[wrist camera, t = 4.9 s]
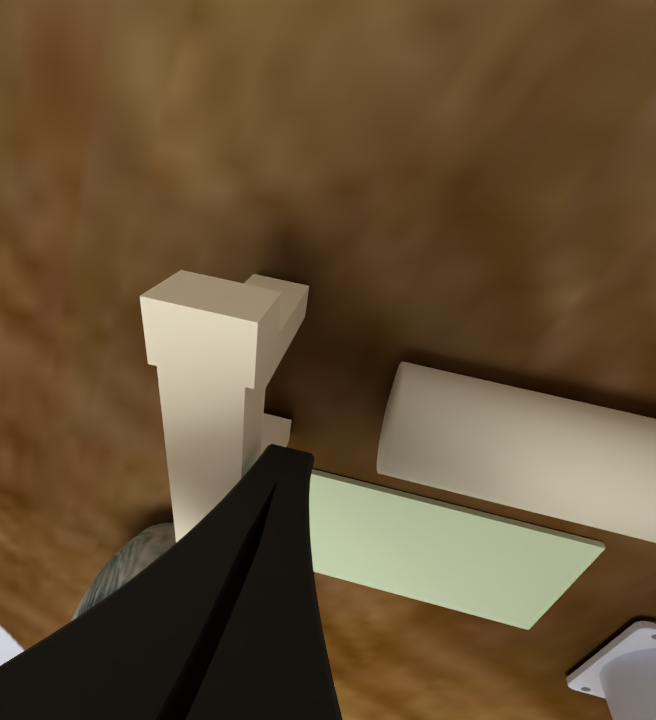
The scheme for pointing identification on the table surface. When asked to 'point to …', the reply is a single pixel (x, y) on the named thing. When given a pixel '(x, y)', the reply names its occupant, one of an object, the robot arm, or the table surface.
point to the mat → (441, 551)
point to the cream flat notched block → (217, 378)
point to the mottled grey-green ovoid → (128, 563)
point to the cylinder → (521, 449)
